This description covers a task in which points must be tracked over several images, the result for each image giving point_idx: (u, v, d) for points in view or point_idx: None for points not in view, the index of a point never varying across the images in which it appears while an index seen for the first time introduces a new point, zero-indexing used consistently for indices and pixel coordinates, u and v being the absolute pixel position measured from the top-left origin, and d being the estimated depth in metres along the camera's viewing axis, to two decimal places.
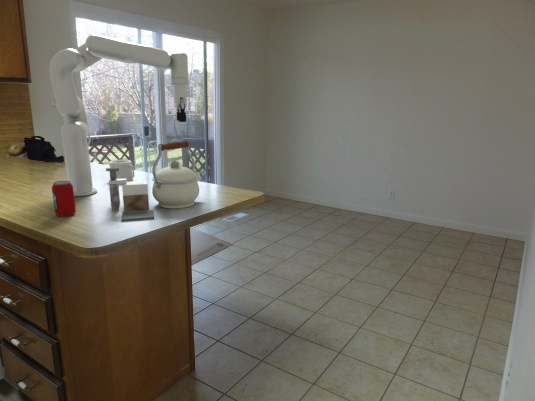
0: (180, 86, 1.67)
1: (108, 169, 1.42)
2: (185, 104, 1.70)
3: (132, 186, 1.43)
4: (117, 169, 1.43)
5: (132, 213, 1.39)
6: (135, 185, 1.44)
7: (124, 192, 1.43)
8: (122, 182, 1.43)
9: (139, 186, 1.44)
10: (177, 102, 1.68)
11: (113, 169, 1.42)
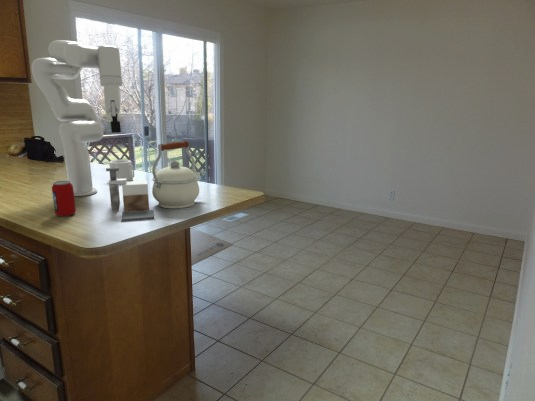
0: (110, 86, 1.38)
1: (108, 169, 1.42)
2: (117, 108, 1.40)
3: (132, 186, 1.43)
4: (117, 169, 1.43)
5: (132, 213, 1.39)
6: (135, 185, 1.44)
7: (124, 192, 1.43)
8: (122, 182, 1.43)
9: (139, 186, 1.44)
10: (107, 106, 1.38)
11: (113, 169, 1.42)
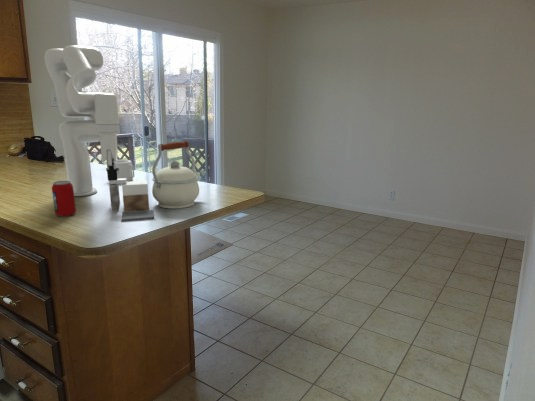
0: (106, 136, 1.32)
1: None
2: (114, 158, 1.34)
3: (132, 186, 1.43)
4: (117, 169, 1.43)
5: (132, 213, 1.39)
6: (135, 185, 1.44)
7: (124, 192, 1.43)
8: (122, 182, 1.44)
9: (139, 186, 1.44)
10: (103, 156, 1.33)
11: None
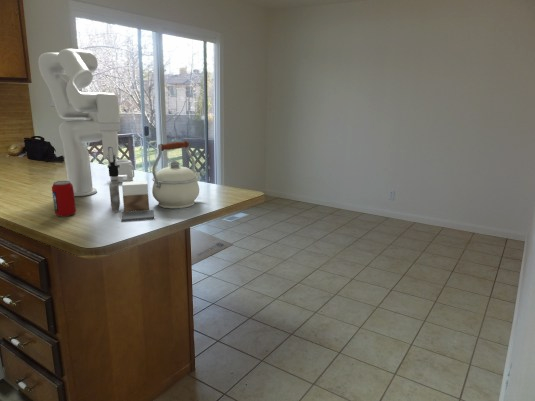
0: (108, 133, 1.39)
1: None
2: (115, 155, 1.41)
3: (132, 186, 1.43)
4: (118, 166, 1.49)
5: (132, 213, 1.39)
6: (135, 185, 1.44)
7: (124, 192, 1.43)
8: (123, 178, 1.50)
9: (139, 186, 1.44)
10: (105, 153, 1.40)
11: None
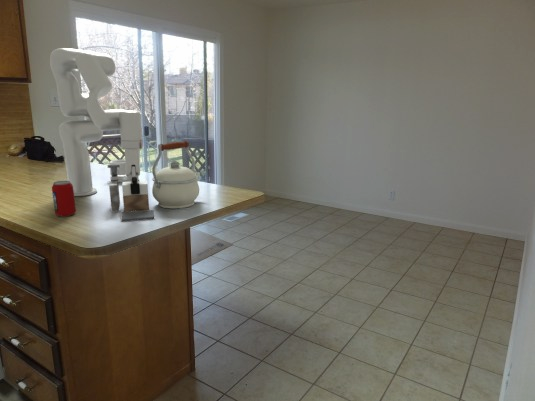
0: (131, 151, 1.39)
1: (109, 166, 1.49)
2: (138, 172, 1.41)
3: None
4: (118, 166, 1.50)
5: (132, 213, 1.39)
6: None
7: (124, 192, 1.43)
8: (123, 178, 1.50)
9: None
10: (128, 170, 1.40)
11: (114, 166, 1.49)
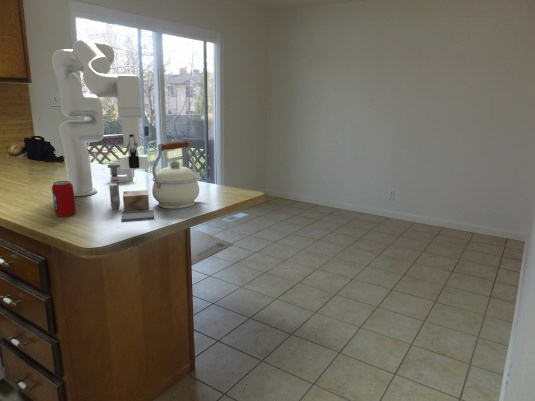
0: (129, 119, 1.25)
1: (109, 166, 1.49)
2: (137, 143, 1.27)
3: None
4: (118, 166, 1.50)
5: (132, 213, 1.39)
6: None
7: (122, 165, 1.29)
8: (123, 178, 1.50)
9: None
10: (126, 141, 1.26)
11: (114, 166, 1.49)
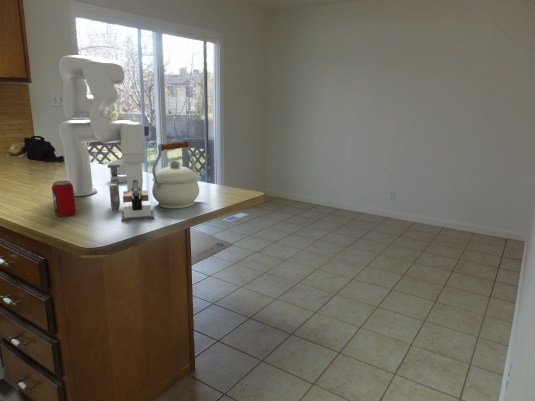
0: (133, 166, 1.29)
1: (109, 166, 1.49)
2: (140, 188, 1.31)
3: None
4: (118, 166, 1.50)
5: None
6: None
7: (125, 214, 1.34)
8: (123, 178, 1.50)
9: None
10: (129, 186, 1.30)
11: (114, 166, 1.49)
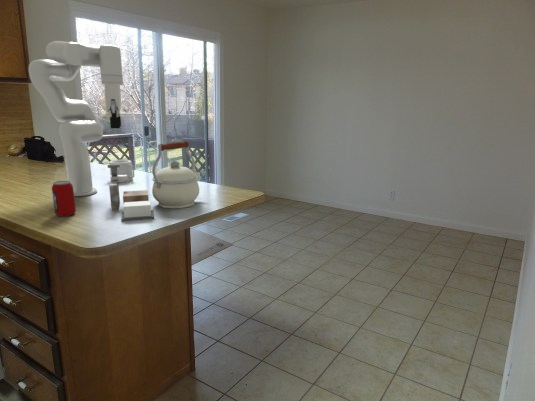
0: (110, 85, 1.39)
1: (109, 166, 1.49)
2: (118, 107, 1.42)
3: (134, 207, 1.34)
4: (118, 166, 1.50)
5: None
6: (137, 206, 1.35)
7: (125, 214, 1.34)
8: (123, 178, 1.50)
9: (141, 207, 1.35)
10: (107, 105, 1.40)
11: (114, 166, 1.49)
